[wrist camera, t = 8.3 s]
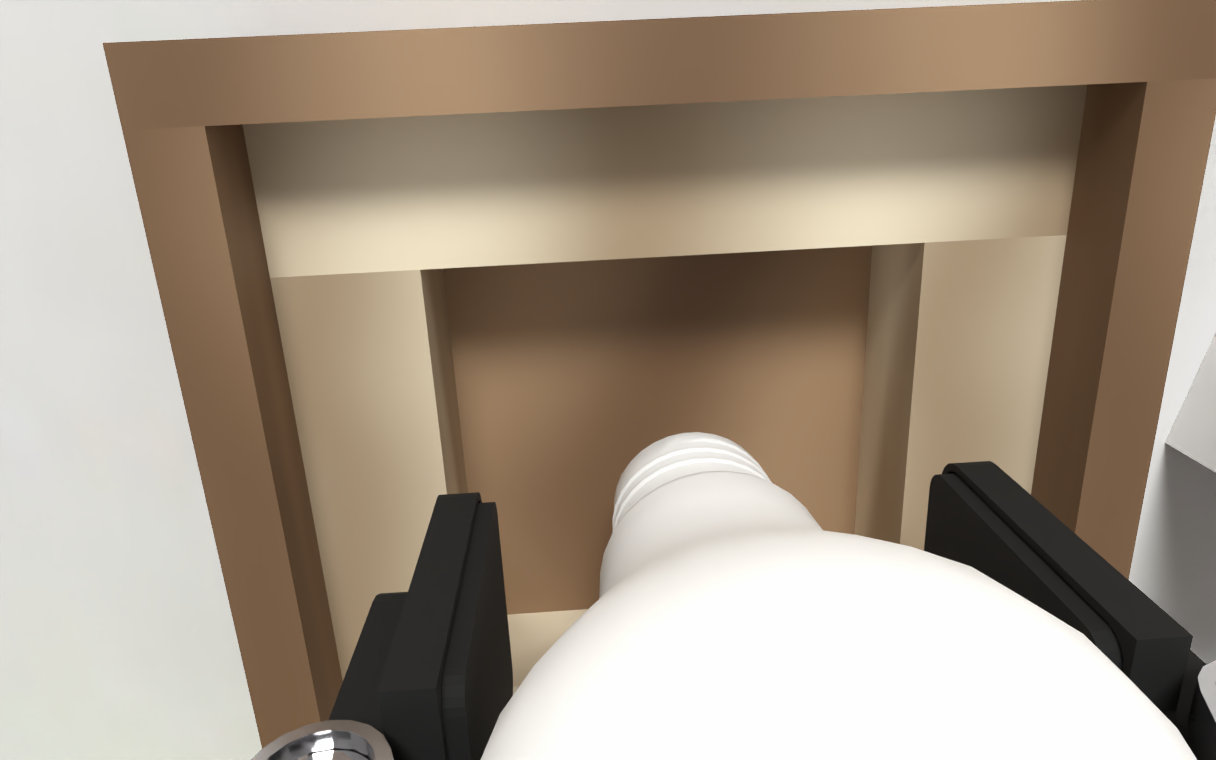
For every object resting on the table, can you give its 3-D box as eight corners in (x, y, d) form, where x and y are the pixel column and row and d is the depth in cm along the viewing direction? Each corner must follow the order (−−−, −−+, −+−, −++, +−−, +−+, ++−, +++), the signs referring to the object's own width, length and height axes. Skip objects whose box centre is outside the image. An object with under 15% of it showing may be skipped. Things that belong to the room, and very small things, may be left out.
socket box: (1060, 17, 14) (1238, -8, 11) (976, 690, 19) (1079, 840, 15) (227, 54, 14) (102, 43, 10) (350, 736, 18) (297, 902, 15)
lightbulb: (791, 662, 16) (1256, 1800, 5) (467, 596, 15) (253, 1797, 4) (915, 358, 14) (2008, 1181, 3) (553, 263, 13) (532, 977, 3)
